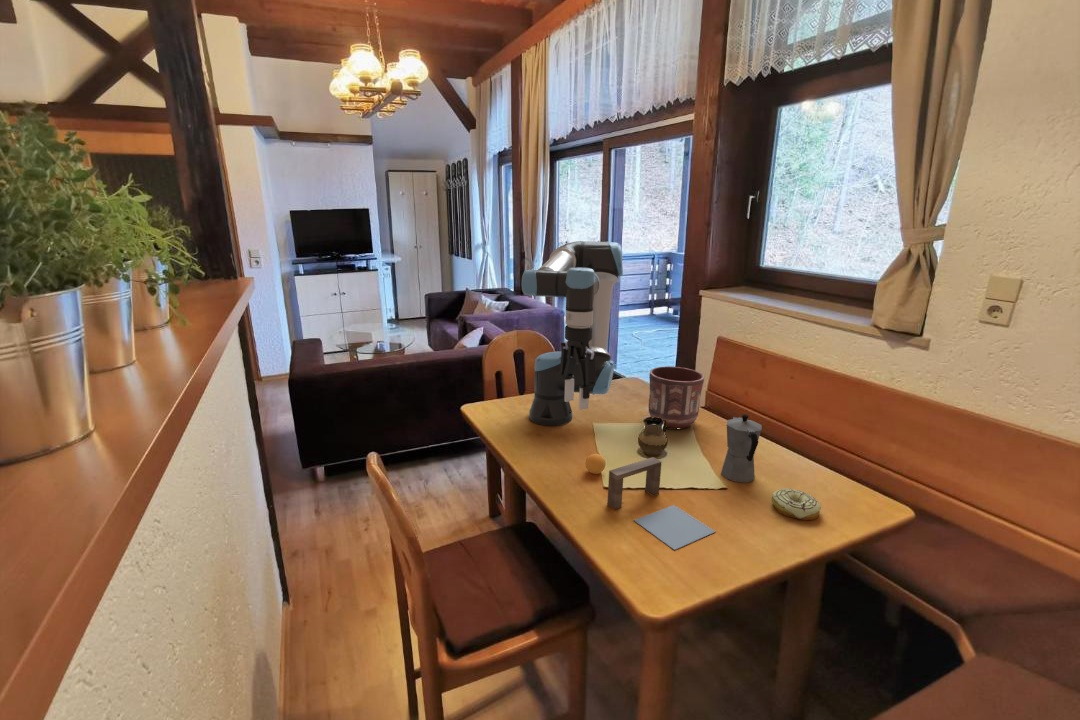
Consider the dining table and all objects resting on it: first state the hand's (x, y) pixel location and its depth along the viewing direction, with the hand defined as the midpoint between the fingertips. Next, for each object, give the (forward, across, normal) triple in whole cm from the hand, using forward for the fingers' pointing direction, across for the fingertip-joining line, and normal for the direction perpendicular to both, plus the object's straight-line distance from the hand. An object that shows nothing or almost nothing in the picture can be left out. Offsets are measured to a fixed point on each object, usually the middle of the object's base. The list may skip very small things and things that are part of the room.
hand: (576, 404), depth 149 cm
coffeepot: (+17, +32, +33) cm, 49 cm away
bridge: (+17, +26, 0) cm, 31 cm away
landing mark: (+17, +40, 0) cm, 43 cm away
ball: (+14, +10, 0) cm, 17 cm away
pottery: (+17, -5, +45) cm, 48 cm away
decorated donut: (+17, +50, +31) cm, 61 cm away
